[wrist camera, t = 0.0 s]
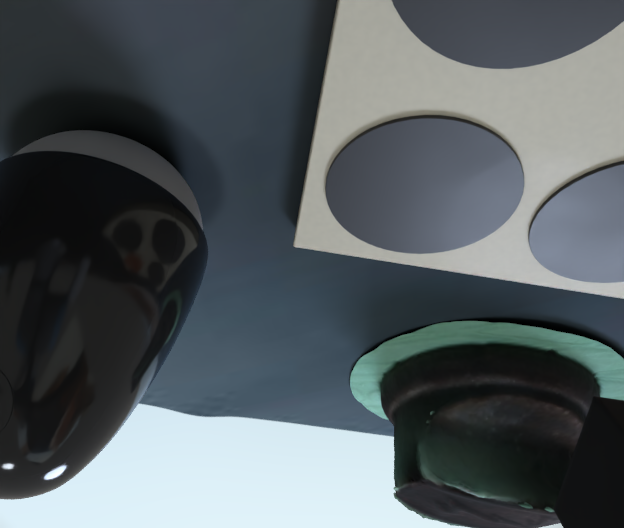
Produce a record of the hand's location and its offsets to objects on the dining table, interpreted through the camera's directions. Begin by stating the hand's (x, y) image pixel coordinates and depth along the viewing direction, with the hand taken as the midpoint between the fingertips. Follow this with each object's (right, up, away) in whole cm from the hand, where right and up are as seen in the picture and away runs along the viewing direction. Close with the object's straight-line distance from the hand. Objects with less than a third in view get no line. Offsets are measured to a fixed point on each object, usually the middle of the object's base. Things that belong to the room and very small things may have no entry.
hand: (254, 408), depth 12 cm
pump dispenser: (-8, +7, +18) cm, 21 cm away
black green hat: (+14, -6, +33) cm, 36 cm away
